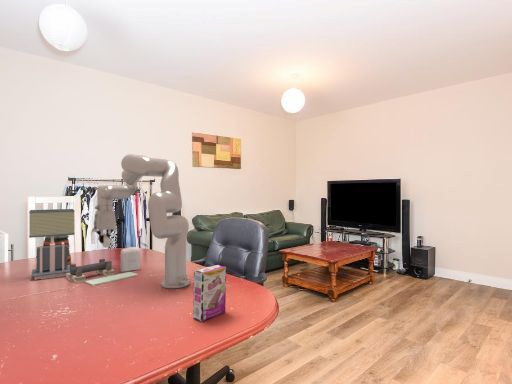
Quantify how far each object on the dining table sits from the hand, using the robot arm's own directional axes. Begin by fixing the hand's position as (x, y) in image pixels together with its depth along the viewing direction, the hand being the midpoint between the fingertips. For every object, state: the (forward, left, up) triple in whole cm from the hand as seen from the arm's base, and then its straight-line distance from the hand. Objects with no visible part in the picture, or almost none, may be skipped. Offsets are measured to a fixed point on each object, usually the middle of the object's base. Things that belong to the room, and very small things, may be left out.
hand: (104, 242), depth 168 cm
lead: (-9, +11, -12) cm, 19 cm away
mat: (-21, +6, -15) cm, 26 cm away
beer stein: (+34, +12, -15) cm, 39 cm away
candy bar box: (-89, +6, -15) cm, 91 cm away
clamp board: (-9, +11, -15) cm, 21 cm away
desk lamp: (+9, +22, -15) cm, 28 cm away
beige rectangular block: (+1, 0, -1) cm, 1 cm away
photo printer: (-12, -8, -15) cm, 21 cm away
